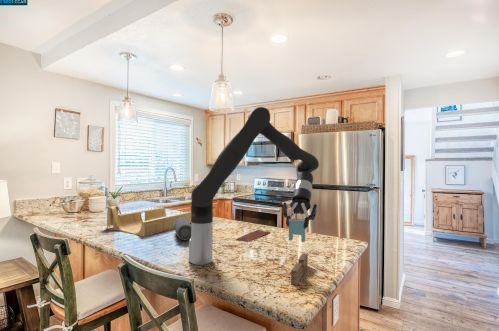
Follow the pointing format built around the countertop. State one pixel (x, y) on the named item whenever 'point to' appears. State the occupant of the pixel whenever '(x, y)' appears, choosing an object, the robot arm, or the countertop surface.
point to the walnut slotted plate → (299, 269)
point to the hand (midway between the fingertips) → (296, 226)
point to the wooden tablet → (253, 235)
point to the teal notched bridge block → (296, 229)
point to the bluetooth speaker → (183, 228)
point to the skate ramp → (135, 224)
